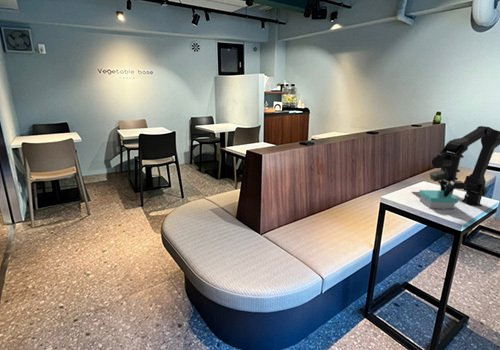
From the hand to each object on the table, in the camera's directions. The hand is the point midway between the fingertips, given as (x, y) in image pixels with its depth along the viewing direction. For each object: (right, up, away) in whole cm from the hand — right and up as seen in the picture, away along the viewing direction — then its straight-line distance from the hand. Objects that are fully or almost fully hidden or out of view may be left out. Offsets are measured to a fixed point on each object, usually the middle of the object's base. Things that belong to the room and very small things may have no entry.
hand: (444, 196), depth 145 cm
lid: (0, -1, +5) cm, 5 cm away
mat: (+4, -1, +18) cm, 19 cm away
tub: (0, -5, +6) cm, 8 cm away
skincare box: (+16, -1, +22) cm, 27 cm away
